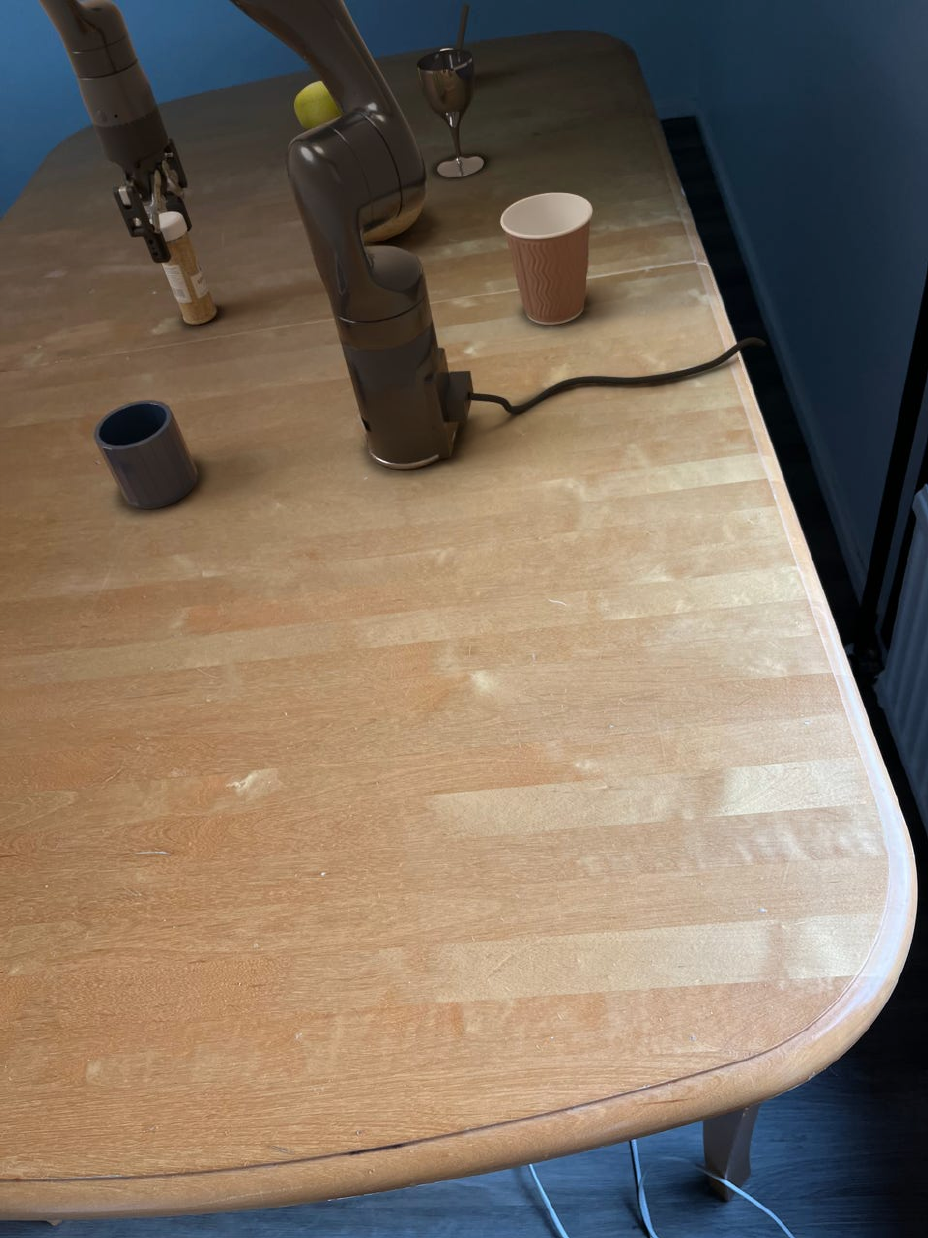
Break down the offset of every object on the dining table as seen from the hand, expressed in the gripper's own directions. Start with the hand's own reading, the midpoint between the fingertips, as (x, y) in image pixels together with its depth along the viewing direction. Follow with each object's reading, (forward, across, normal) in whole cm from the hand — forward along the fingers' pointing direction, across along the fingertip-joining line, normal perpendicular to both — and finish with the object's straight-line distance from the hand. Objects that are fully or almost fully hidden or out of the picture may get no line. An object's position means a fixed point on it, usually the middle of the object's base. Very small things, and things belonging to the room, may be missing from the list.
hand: (174, 245), depth 127 cm
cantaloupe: (+10, +19, -21) cm, 30 cm away
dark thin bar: (+10, +70, -23) cm, 74 cm away
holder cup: (+10, -34, -7) cm, 36 cm away
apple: (+10, +56, -4) cm, 57 cm away
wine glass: (+10, +39, -29) cm, 50 cm away
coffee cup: (+10, -3, -47) cm, 48 cm away
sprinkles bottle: (+10, 0, 0) cm, 10 cm away
